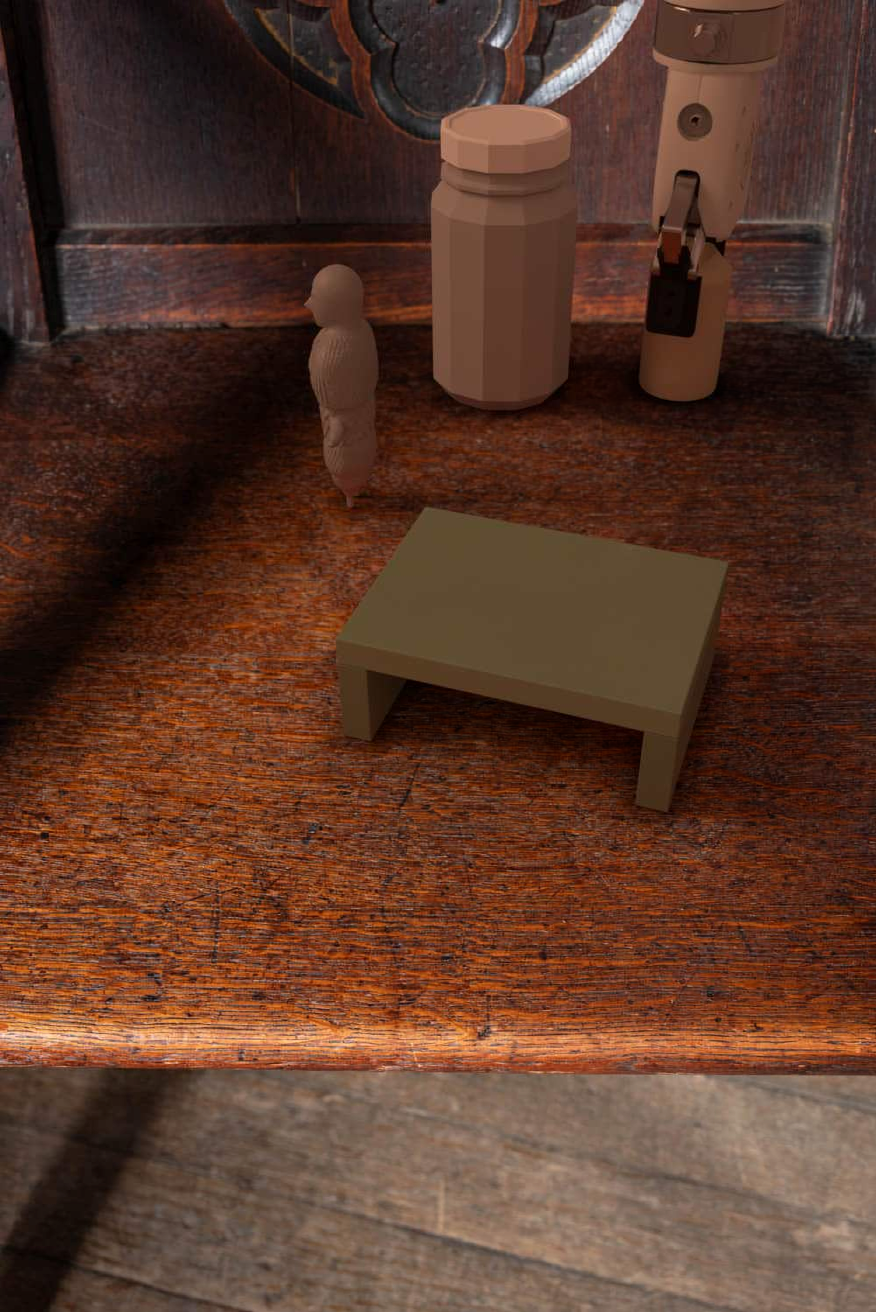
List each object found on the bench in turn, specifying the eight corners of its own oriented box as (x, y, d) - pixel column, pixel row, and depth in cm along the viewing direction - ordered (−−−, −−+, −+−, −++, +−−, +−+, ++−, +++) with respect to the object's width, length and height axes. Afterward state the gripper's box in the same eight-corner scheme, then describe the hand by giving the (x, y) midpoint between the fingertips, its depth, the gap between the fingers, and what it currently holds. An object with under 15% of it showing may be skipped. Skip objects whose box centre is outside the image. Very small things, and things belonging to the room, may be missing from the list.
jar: (586, 407, 87) (605, 138, 76) (449, 424, 86) (448, 152, 74) (545, 348, 95) (557, 95, 83) (418, 362, 93) (413, 106, 82)
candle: (688, 410, 87) (705, 269, 80) (622, 386, 90) (635, 248, 83) (731, 382, 90) (751, 245, 84) (667, 360, 93) (681, 225, 87)
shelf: (714, 656, 66) (729, 561, 62) (667, 813, 57) (681, 713, 53) (427, 597, 70) (425, 505, 66) (342, 735, 61) (334, 638, 57)
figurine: (340, 460, 82) (324, 233, 73) (399, 466, 81) (390, 237, 72) (298, 539, 75) (274, 298, 65) (362, 546, 74) (347, 303, 65)
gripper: (759, 74, 68) (716, 366, 79) (800, 6, 81) (758, 266, 91) (623, 62, 70) (599, 349, 81) (683, -2, 83) (656, 253, 93)
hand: (684, 304), depth 86 cm, fingers open, 9 cm apart
